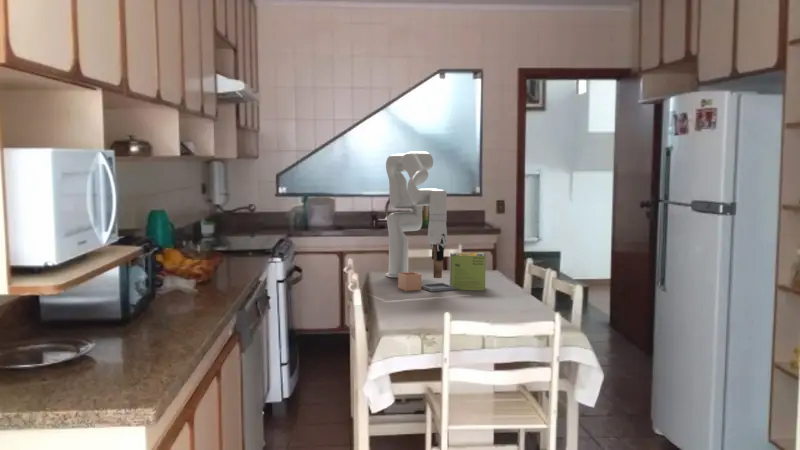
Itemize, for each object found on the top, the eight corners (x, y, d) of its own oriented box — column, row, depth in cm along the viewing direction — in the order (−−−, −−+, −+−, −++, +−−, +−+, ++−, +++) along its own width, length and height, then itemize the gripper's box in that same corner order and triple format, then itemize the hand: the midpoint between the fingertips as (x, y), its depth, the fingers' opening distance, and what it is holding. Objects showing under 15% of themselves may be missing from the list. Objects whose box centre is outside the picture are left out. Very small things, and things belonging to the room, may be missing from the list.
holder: (398, 289, 321) (398, 272, 321) (413, 288, 324) (413, 271, 324) (405, 292, 314) (405, 275, 314) (421, 291, 318) (421, 274, 317)
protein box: (485, 290, 320) (486, 255, 319) (450, 290, 321) (451, 255, 319) (483, 286, 331) (483, 252, 330) (449, 286, 331) (449, 252, 330)
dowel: (432, 277, 320) (432, 245, 318) (439, 276, 321) (439, 245, 320) (435, 278, 316) (435, 246, 315) (443, 277, 318) (443, 245, 317)
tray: (418, 289, 322) (418, 284, 322) (442, 287, 327) (442, 282, 327) (431, 293, 312) (431, 288, 311) (455, 291, 317) (455, 286, 316)
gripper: (421, 217, 323) (421, 258, 324) (439, 219, 307) (439, 262, 309) (436, 216, 326) (436, 257, 327) (454, 219, 311) (454, 261, 312)
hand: (437, 259), depth 318 cm, fingers closed on dowel, 3 cm apart
